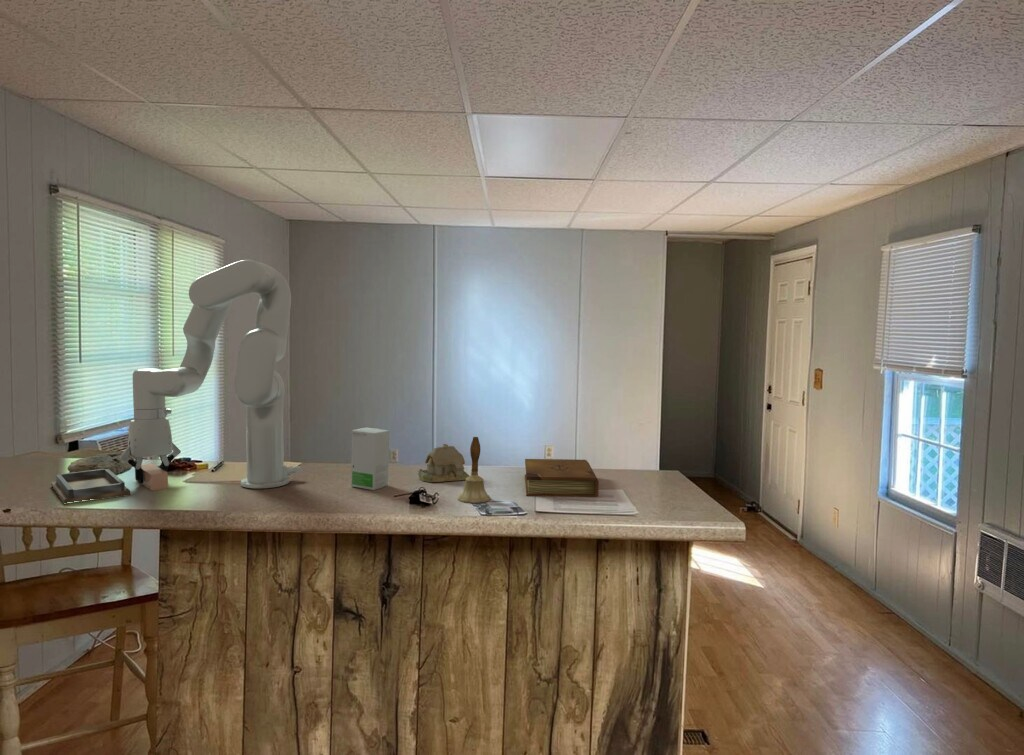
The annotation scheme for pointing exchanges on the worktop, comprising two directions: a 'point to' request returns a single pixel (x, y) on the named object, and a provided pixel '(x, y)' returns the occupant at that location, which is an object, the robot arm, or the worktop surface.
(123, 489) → the gray rectangular frame
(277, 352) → the robot arm
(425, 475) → the ceramic model
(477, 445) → the hand bell
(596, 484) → the diary
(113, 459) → the clay tablet
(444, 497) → the worktop surface
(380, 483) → the skincare box
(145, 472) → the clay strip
